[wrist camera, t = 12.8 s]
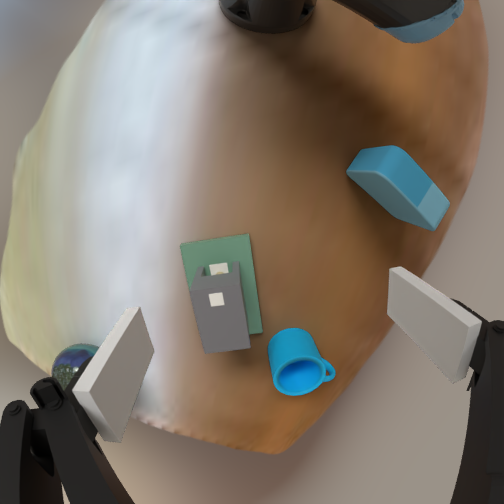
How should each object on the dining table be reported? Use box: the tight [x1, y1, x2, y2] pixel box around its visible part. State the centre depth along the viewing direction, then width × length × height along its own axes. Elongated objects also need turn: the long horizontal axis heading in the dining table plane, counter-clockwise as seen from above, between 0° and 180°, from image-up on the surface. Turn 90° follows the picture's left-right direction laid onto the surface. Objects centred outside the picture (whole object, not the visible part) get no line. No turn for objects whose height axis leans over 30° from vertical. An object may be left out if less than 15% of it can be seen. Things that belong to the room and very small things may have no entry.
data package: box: [346, 145, 450, 231], centre depth 36 cm, size 12×4×12 cm, turn 55°
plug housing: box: [189, 261, 251, 354], centre depth 39 cm, size 9×6×9 cm, turn 8°
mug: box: [268, 328, 336, 396], centre depth 45 cm, size 12×8×8 cm
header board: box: [180, 234, 263, 334], centre depth 42 cm, size 16×10×4 cm, turn 8°
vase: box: [51, 344, 100, 390], centre depth 41 cm, size 15×15×13 cm
